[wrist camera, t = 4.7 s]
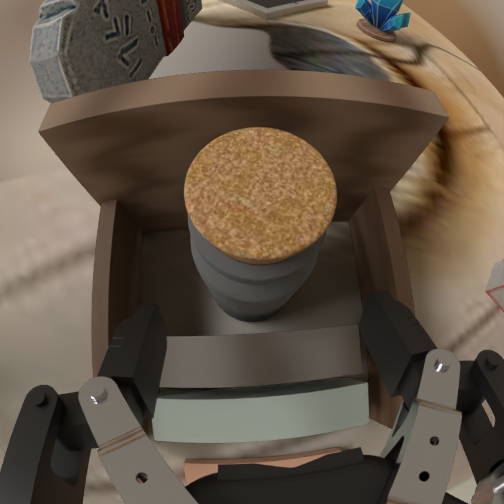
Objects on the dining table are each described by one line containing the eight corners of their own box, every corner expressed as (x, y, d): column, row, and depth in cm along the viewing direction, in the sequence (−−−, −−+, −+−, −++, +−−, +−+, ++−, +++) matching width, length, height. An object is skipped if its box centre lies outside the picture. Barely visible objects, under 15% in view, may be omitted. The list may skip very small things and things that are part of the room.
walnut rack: (129, 433, 19) (24, 498, 5) (127, 212, 25) (50, 104, 11) (387, 413, 20) (508, 453, 6) (360, 200, 26) (434, 92, 12)
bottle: (302, 281, 23) (385, 182, 9) (253, 338, 22) (273, 324, 7) (247, 235, 24) (252, 92, 10) (197, 287, 23) (127, 192, 8)
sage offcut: (170, 424, 20) (154, 440, 15) (167, 388, 20) (149, 398, 16) (347, 411, 20) (368, 423, 16) (345, 376, 21) (367, 382, 17)
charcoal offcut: (178, 377, 21) (156, 386, 15) (176, 339, 22) (153, 336, 16) (333, 366, 21) (362, 372, 16) (330, 329, 22) (358, 323, 16)
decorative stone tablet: (156, -78, 17) (-10, 39, 10) (199, -84, 17) (31, 21, 10) (174, 11, 36) (78, 147, 29) (210, 11, 35) (119, 152, 29)
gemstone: (388, 48, 35) (410, -7, 24) (346, 23, 37) (361, -30, 26) (405, 41, 37) (425, -7, 26) (366, 18, 39) (381, -29, 27)
